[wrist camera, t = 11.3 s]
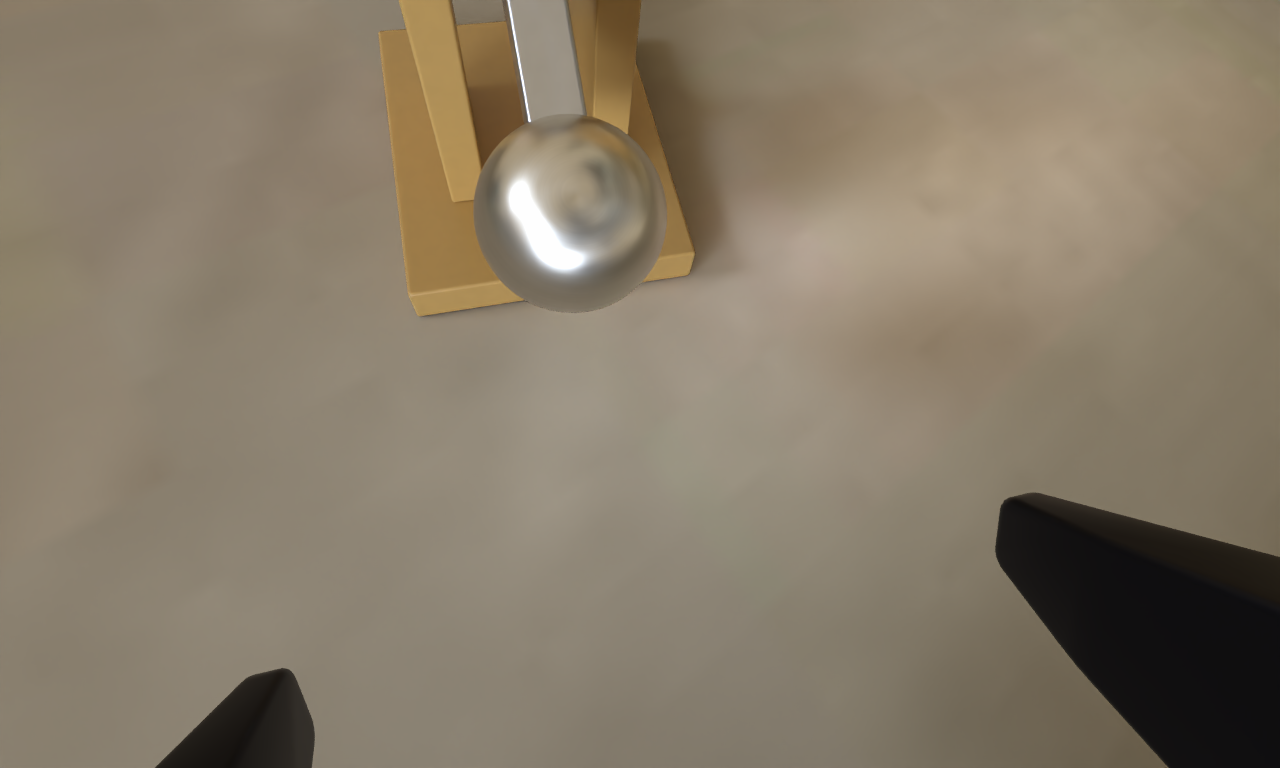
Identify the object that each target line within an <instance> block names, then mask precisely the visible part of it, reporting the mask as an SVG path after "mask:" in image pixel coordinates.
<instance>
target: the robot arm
mask: <svg viewBox="0 0 1280 768" xmlns="http://www.w3.org/2000/svg"><path fill="white" fill-rule="evenodd" d="M995 551H996V557H997V560H998V562H999V564H1000V566H1001V568H1002V569H1003V571H1004V572H1005V573H1006V575H1007V576H1008V577H1009V578H1010V580H1011V581H1012V582H1013V584H1014V585H1015V586H1016V588H1017V589H1018V590H1019V592H1020V593H1021V594H1022V595H1023V597H1024V598H1025V599H1026V601H1027V602H1028V603H1029V605H1030V606H1031V607H1032V609H1033V610H1034V611H1035V613H1036V614H1037V615H1038V616H1039V618H1040V619H1041V620H1042V622H1043V623H1044V624H1045V626H1046V627H1047V628H1048V630H1049V631H1050V632H1051V634H1052V635H1053V636H1054V637H1055V639H1056V640H1057V641H1058V643H1059V644H1060V645H1061V647H1062V648H1063V649H1064V650H1065V652H1066V653H1067V654H1068V655H1069V657H1070V658H1071V659H1072V660H1073V662H1074V663H1075V664H1076V665H1077V667H1078V668H1079V669H1080V670H1081V671H1082V672H1083V674H1084V675H1085V676H1086V677H1087V678H1088V679H1089V680H1090V682H1091V683H1092V684H1093V685H1094V686H1095V687H1096V688H1097V689H1098V690H1099V692H1100V693H1101V694H1102V695H1103V696H1104V697H1105V698H1106V699H1107V700H1108V701H1109V703H1110V704H1111V705H1112V706H1113V707H1114V708H1115V709H1116V710H1117V711H1118V712H1119V714H1120V715H1121V716H1122V717H1123V718H1124V719H1125V720H1126V721H1127V722H1128V723H1129V725H1130V726H1131V727H1132V728H1133V729H1134V730H1135V731H1136V732H1137V733H1138V734H1139V736H1140V737H1141V738H1142V739H1143V740H1144V741H1145V742H1146V743H1147V744H1148V745H1149V747H1150V748H1151V749H1152V750H1153V751H1154V752H1155V753H1156V754H1157V755H1158V756H1159V758H1160V759H1161V760H1162V761H1163V762H1164V763H1165V764H1166V765H1167V766H1168V767H1169V768H1280V557H1277V556H1274V555H1270V554H1266V553H1262V552H1258V551H1255V550H1251V549H1247V548H1243V547H1240V546H1236V545H1232V544H1228V543H1225V542H1221V541H1217V540H1213V539H1210V538H1206V537H1202V536H1198V535H1195V534H1191V533H1187V532H1183V531H1180V530H1176V529H1172V528H1168V527H1165V526H1161V525H1157V524H1153V523H1150V522H1146V521H1142V520H1138V519H1135V518H1131V517H1127V516H1123V515H1119V514H1116V513H1112V512H1108V511H1104V510H1101V509H1097V508H1093V507H1089V506H1086V505H1082V504H1078V503H1074V502H1071V501H1067V500H1063V499H1059V498H1056V497H1052V496H1048V495H1044V494H1041V493H1026V494H1022V495H1018V496H1014V497H1010V498H1008V499H1006V500H1004V502H1003V504H1002V505H1001V508H1000V515H999V522H998V530H997V538H996V546H995ZM314 742H315V733H314V725H313V721H312V718H311V715H310V713H309V710H308V708H307V705H306V703H305V700H304V698H303V695H302V693H301V690H300V687H299V685H298V682H297V680H296V678H295V676H294V674H293V673H292V672H291V671H290V670H289V669H285V668H281V669H277V670H272V671H268V672H264V673H260V674H255V675H252V676H250V677H248V678H246V679H245V680H244V681H243V682H241V683H240V684H239V685H238V686H237V687H236V688H235V689H234V690H233V691H232V692H231V693H230V694H229V695H228V696H227V697H226V698H225V699H224V700H223V701H222V702H221V703H220V704H219V705H218V706H217V707H216V708H215V709H214V710H213V711H212V712H211V713H210V714H209V715H208V716H207V717H206V718H205V719H204V720H203V721H202V722H201V723H200V724H199V725H198V726H197V727H196V728H195V729H194V730H193V731H192V732H191V733H190V734H189V735H188V736H187V737H186V738H185V739H184V740H183V741H182V742H181V743H180V744H179V745H178V746H177V747H176V748H175V749H174V750H173V751H172V752H170V753H169V754H168V755H167V756H166V757H165V758H164V759H163V760H162V761H161V762H160V763H159V764H158V765H157V766H156V767H155V768H312V761H313V752H314Z"/></svg>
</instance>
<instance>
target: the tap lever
mask: <svg viewBox="0 0 1280 768" xmlns="http://www.w3.org/2000/svg"><path fill="white" fill-rule="evenodd" d="M502 1H503V7H504V12H505V18H506V24H507V29H508V35H509V41H510V46H511V52H512V58H513V64H514V69H515V75H516V81H517V86H518V92H519V98H520V103H521V109H522V115H523V120H524V125H522V126H520V127H519V128H517V129H516V130H514V131H513V132H511V133H510V134H509V135H508V136H507V137H505V138H504V139H503V140H502V141H501V142H500V143H499V144H498V146H497V147H496V148H495V149H494V150H493V152H492V153H491V155H490V156H489V158H488V159H487V161H486V163H485V164H484V166H483V169H482V171H481V173H480V175H479V178H478V182H477V185H476V188H475V195H474V204H473V218H474V227H475V232H476V236H477V240H478V244H479V246H480V249H481V251H482V254H483V256H484V258H485V259H486V261H487V263H488V265H489V267H490V268H491V269H492V271H493V272H494V273H495V275H496V276H497V277H498V278H499V279H500V280H501V281H502V283H503V284H504V285H505V286H506V287H508V288H509V289H510V290H511V291H512V292H514V293H515V294H516V295H518V296H519V297H521V298H522V299H524V300H526V301H527V302H530V303H532V304H534V305H536V306H538V307H541V308H545V309H548V310H552V311H558V312H566V313H579V312H589V311H593V310H598V309H601V308H604V307H607V306H609V305H612V304H614V303H615V302H617V301H619V300H621V299H623V298H624V297H625V296H627V295H628V294H630V293H631V292H632V291H633V290H634V289H635V288H637V287H638V286H639V285H640V284H641V283H642V281H643V280H644V279H645V278H646V276H647V275H648V274H649V273H650V271H651V270H652V268H653V266H654V265H655V263H656V261H657V259H658V257H659V254H660V252H661V249H662V246H663V242H664V239H665V233H666V226H667V205H666V198H665V193H664V189H663V185H662V183H661V180H660V177H659V175H658V173H657V171H656V169H655V167H654V165H653V163H652V162H651V160H650V159H649V157H648V156H647V154H646V153H645V152H644V150H643V149H642V148H641V147H640V146H639V145H638V143H637V142H635V141H634V140H633V139H632V138H631V137H630V136H629V135H628V134H626V133H625V132H623V131H622V130H620V129H619V128H617V127H615V126H614V125H612V124H610V123H608V122H605V121H603V120H600V119H597V118H594V117H590V116H587V111H586V105H585V100H584V94H583V88H582V82H581V76H580V70H579V64H578V58H577V52H576V46H575V40H574V34H573V28H572V22H571V16H570V11H569V5H568V0H502Z"/></svg>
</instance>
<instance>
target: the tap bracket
mask: <svg viewBox="0 0 1280 768" xmlns="http://www.w3.org/2000/svg"><path fill="white" fill-rule="evenodd" d="M399 3H400V7H401V11H402V15H403V18H404V22H405V26H406V29H402V30H389V31H380V32H379V44H380V53H381V61H382V70H383V79H384V88H385V96H386V105H387V114H388V123H389V132H390V140H391V149H392V158H393V167H394V175H395V184H396V193H397V202H398V210H399V219H400V228H401V237H402V245H403V254H404V263H405V272H406V280H407V289H408V296H409V298H410V300H411V302H412V304H413V307H414V309H415V311H416V313H417V315H418V316H425V315H432V314H438V313H445V312H451V311H458V310H464V309H471V308H477V307H484V306H490V305H497V304H503V303H510V302H516V301H523V300H524V299H522V298H521V297H519V296H518V295H516V294H515V293H514V292H512V291H511V290H510V289H509V288H508V287H506V286H505V285H504V284H503V283H502V281H501V280H500V279H499V278H498V277H497V276H496V275H495V273H494V272H493V271H492V269H491V268H490V267H489V265H488V263H487V261H486V259H485V258H484V256H483V254H482V251H481V249H480V246H479V244H478V240H477V236H476V232H475V227H474V218H473V204H474V195H475V188H476V185H477V182H478V178H479V175H480V173H481V171H482V169H483V166H484V164H485V163H486V161H487V159H488V158H489V156H490V155H491V153H492V152H493V150H494V149H495V148H496V147H497V146H498V144H499V143H500V142H501V141H502V140H503V139H504V138H505V137H507V136H508V135H509V134H510V133H511V132H513V131H514V130H516V129H517V128H519V127H520V126H522V125H524V120H523V115H522V109H521V103H520V98H519V92H518V86H517V81H516V75H515V69H514V64H513V58H512V52H511V46H510V41H509V35H508V29H507V24H506V21H502V22H490V23H477V24H465V25H456V20H455V14H454V9H453V3H452V0H399ZM568 5H569V11H570V16H571V22H572V28H573V34H574V40H575V46H576V52H577V58H578V64H579V70H580V76H581V82H582V88H583V94H584V100H585V105H586V111H587V116H590V117H594V118H597V119H600V120H603V121H605V122H608V123H610V124H612V125H614V126H615V127H617V128H619V129H620V130H622V131H623V132H625V133H626V134H628V135H629V136H630V137H631V138H632V139H633V140H634V141H635V142H637V143H638V145H639V146H640V147H641V148H642V149H643V150H644V152H645V153H646V154H647V156H648V157H649V159H650V160H651V162H652V163H653V165H654V167H655V169H656V171H657V173H658V175H659V177H660V180H661V183H662V185H663V189H664V193H665V198H666V205H667V226H666V233H665V239H664V242H663V246H662V249H661V252H660V254H659V257H658V259H657V261H656V263H655V265H654V266H653V268H652V270H651V271H650V273H649V274H648V275H647V276H646V278H645V279H644V280H643V281H642V282H647V281H653V280H660V279H666V278H673V277H680V276H686V275H689V274H690V270H691V267H692V263H693V260H694V256H695V250H694V246H693V243H692V240H691V237H690V234H689V230H688V227H687V224H686V221H685V218H684V214H683V211H682V208H681V205H680V202H679V199H678V195H677V192H676V189H675V186H674V183H673V179H672V176H671V173H670V170H669V167H668V163H667V160H666V157H665V154H664V151H663V147H662V144H661V141H660V138H659V135H658V131H657V128H656V125H655V122H654V119H653V115H652V112H651V109H650V106H649V103H648V99H647V96H646V93H645V90H644V87H643V83H642V80H641V77H640V74H639V71H638V67H637V64H636V61H635V60H636V50H637V40H638V29H639V19H640V9H641V0H568Z"/></svg>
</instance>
